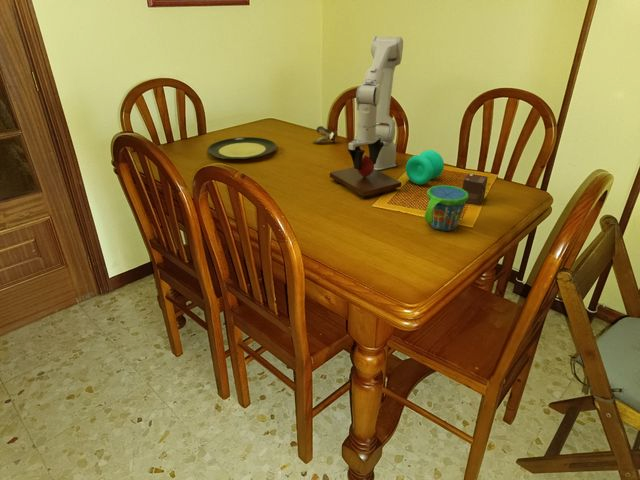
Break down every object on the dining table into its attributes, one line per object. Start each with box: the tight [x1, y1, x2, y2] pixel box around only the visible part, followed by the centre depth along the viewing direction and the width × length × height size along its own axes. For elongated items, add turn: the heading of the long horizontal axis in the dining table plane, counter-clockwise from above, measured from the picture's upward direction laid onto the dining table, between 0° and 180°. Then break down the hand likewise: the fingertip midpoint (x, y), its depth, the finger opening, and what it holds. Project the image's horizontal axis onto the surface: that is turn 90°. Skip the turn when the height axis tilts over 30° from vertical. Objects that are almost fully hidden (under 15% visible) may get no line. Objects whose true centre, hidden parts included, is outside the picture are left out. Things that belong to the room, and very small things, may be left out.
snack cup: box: [423, 184, 469, 232], centre depth 123 cm, size 16×10×10 cm
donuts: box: [405, 149, 445, 185], centre depth 152 cm, size 10×10×10 cm
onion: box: [357, 153, 374, 177], centre depth 148 cm, size 6×6×8 cm
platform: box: [329, 166, 402, 199], centre depth 151 cm, size 15×20×3 cm
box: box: [461, 173, 489, 206], centre depth 138 cm, size 6×6×7 cm
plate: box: [206, 136, 278, 161], centre depth 182 cm, size 28×28×2 cm
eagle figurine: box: [313, 125, 338, 144], centre depth 192 cm, size 8×7×9 cm
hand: (365, 166), depth 148 cm, fingers open, 7 cm apart
